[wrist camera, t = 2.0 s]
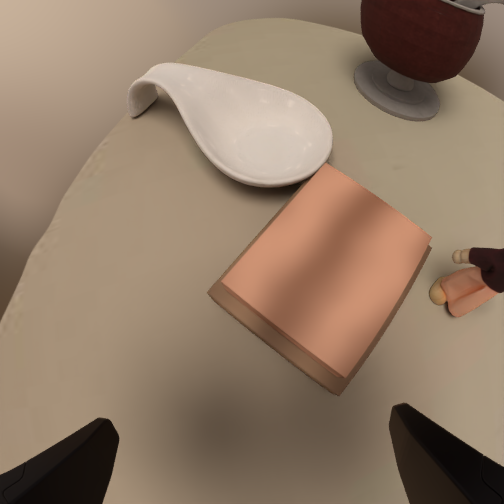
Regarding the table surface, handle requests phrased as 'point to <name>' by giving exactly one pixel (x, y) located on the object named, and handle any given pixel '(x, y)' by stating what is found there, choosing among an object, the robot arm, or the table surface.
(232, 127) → the spoon rest
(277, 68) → the table surface
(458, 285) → the grandmother figurine
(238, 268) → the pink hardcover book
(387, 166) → the table surface
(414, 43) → the mate gourd
